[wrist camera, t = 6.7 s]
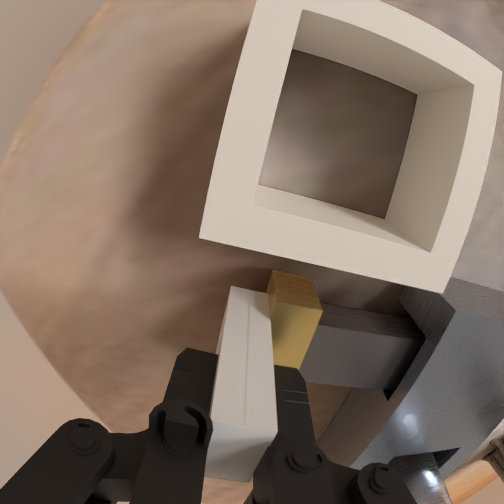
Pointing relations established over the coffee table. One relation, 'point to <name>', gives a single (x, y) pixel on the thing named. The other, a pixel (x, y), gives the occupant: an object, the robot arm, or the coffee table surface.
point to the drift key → (338, 338)
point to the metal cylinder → (422, 478)
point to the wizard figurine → (497, 458)
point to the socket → (432, 386)
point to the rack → (414, 159)
